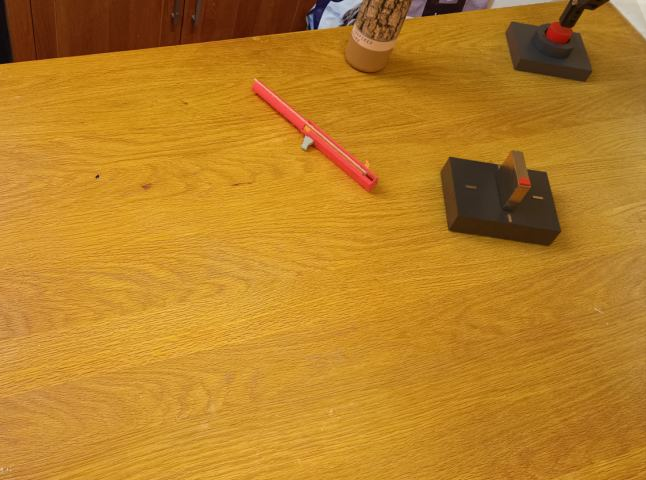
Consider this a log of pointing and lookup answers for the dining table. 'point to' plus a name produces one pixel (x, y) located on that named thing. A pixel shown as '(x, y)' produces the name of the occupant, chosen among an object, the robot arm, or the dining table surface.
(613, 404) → the dining table surface
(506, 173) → the dial knob
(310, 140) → the red grooved bar
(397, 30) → the paper tube
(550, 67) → the button box
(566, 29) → the button
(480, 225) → the panel
